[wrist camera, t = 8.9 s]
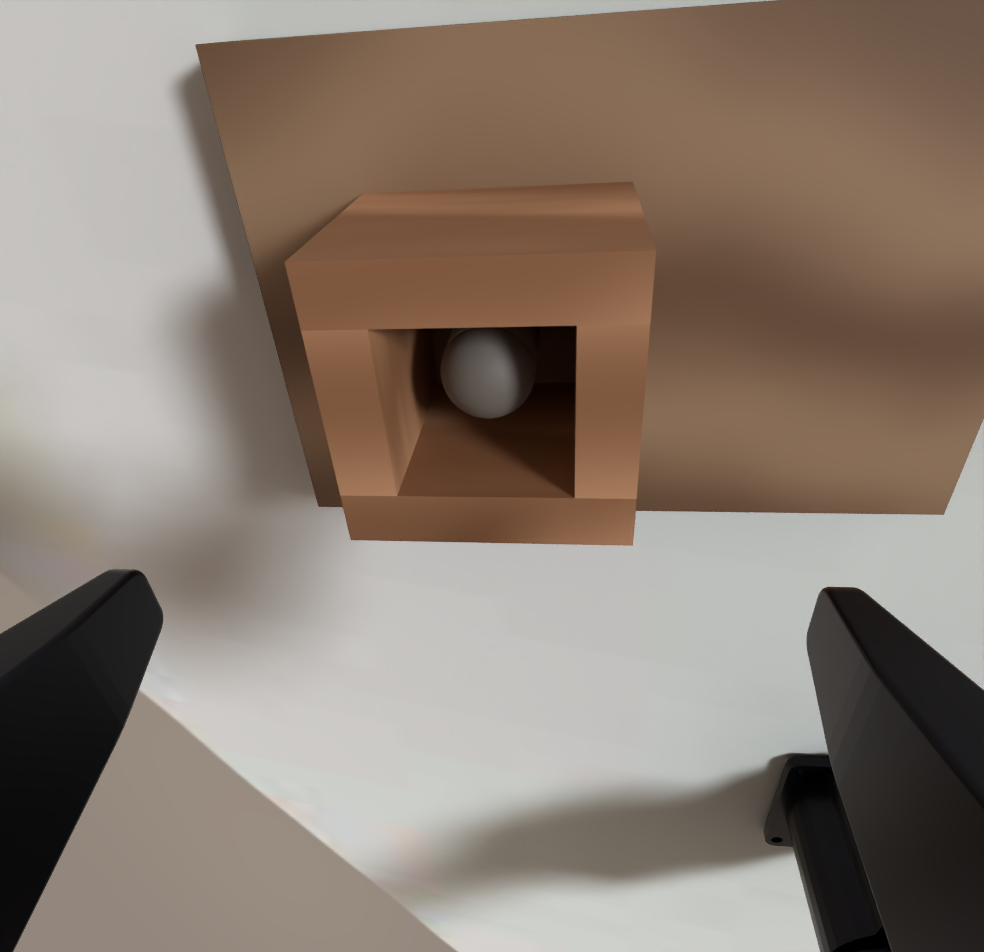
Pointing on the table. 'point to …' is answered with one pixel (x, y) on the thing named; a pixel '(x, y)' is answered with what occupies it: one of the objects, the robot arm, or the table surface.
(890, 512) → the wooden board with peg
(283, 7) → the table surface
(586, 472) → the bead
